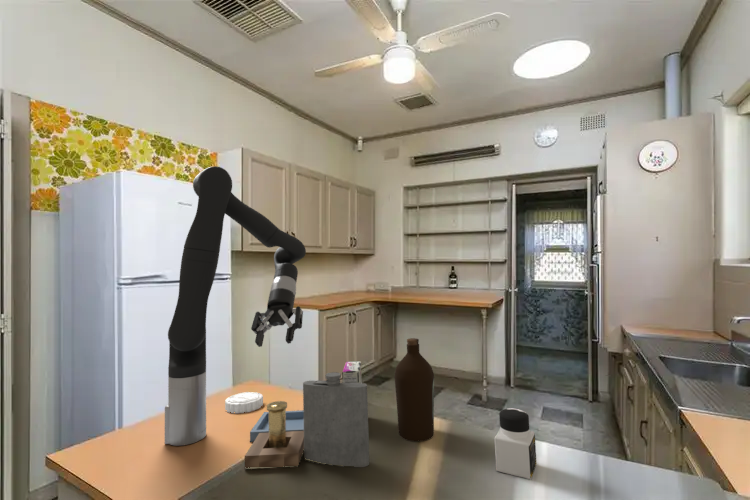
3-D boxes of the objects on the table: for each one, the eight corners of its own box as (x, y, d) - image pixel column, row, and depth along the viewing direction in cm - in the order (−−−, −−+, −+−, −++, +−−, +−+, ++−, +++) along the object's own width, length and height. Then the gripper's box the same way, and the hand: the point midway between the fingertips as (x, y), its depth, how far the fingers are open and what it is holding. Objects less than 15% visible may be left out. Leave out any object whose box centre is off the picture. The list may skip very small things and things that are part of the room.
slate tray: (250, 441, 96) (250, 432, 96) (264, 420, 110) (264, 412, 110) (303, 439, 97) (303, 429, 97) (311, 418, 111) (310, 409, 111)
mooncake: (270, 403, 126) (270, 392, 126) (246, 416, 115) (246, 404, 115) (242, 399, 130) (242, 389, 130) (216, 412, 119) (216, 400, 119)
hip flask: (370, 460, 85) (368, 372, 86) (365, 469, 81) (363, 377, 82) (307, 453, 89) (306, 369, 90) (300, 462, 85) (298, 374, 86)
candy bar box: (346, 416, 112) (345, 361, 113) (363, 415, 112) (361, 360, 113) (342, 431, 101) (341, 371, 102) (361, 431, 100) (359, 370, 101)
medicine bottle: (531, 480, 75) (528, 420, 75) (495, 471, 78) (492, 414, 79) (536, 464, 81) (533, 408, 81) (503, 456, 84) (500, 403, 85)
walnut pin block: (244, 469, 82) (244, 456, 82) (259, 444, 94) (259, 432, 94) (298, 467, 83) (298, 453, 83) (306, 442, 95) (306, 430, 95)
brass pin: (265, 460, 86) (264, 408, 87) (270, 451, 91) (269, 401, 91) (285, 459, 86) (284, 407, 87) (289, 450, 91) (288, 400, 92)
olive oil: (403, 445, 91) (399, 344, 93) (391, 428, 102) (388, 337, 103) (442, 439, 94) (438, 341, 95) (428, 423, 104) (424, 334, 106)
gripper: (255, 290, 109) (242, 340, 98) (300, 284, 107) (292, 334, 96) (265, 304, 114) (255, 352, 104) (309, 298, 112) (303, 347, 102)
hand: (273, 343), depth 100 cm, fingers open, 8 cm apart
